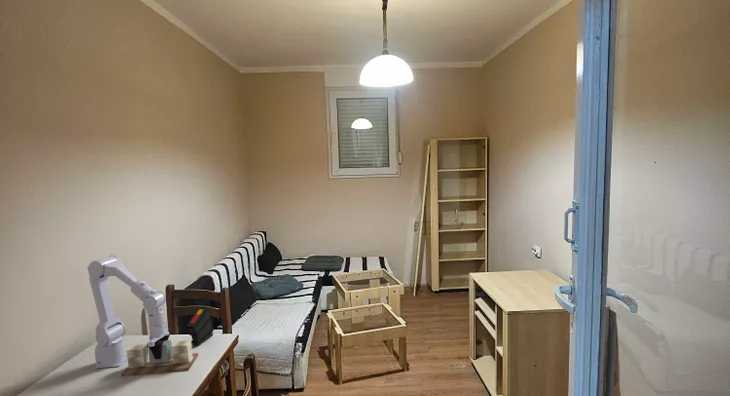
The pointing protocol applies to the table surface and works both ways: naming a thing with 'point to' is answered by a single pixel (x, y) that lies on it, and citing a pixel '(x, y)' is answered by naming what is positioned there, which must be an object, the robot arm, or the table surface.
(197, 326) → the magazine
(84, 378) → the table surface
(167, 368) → the board
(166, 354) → the block
